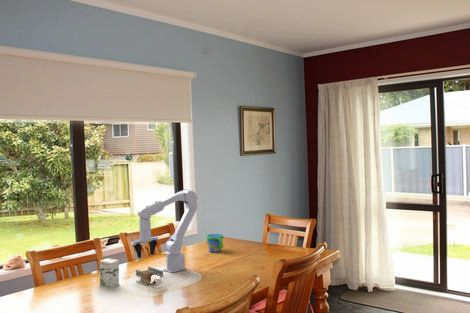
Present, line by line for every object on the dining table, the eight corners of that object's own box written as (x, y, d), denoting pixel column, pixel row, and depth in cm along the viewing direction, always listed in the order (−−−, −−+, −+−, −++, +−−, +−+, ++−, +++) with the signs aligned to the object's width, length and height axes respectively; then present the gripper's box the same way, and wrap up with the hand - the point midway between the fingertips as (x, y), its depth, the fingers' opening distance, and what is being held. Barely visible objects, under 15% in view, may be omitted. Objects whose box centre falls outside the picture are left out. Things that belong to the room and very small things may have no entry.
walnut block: (148, 279, 209) (148, 269, 209) (154, 282, 205) (154, 271, 205) (140, 281, 206) (140, 271, 205) (146, 284, 202) (146, 273, 202)
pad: (146, 279, 211) (146, 278, 211) (155, 282, 206) (155, 281, 206) (136, 281, 207) (136, 281, 207) (145, 285, 201) (145, 284, 201)
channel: (149, 271, 224) (149, 266, 224) (163, 275, 216) (162, 270, 216) (136, 274, 218) (135, 270, 218) (149, 279, 210) (149, 274, 210)
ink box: (99, 284, 204) (98, 260, 204) (107, 281, 208) (106, 257, 208) (112, 287, 200) (111, 262, 200) (119, 284, 204) (119, 259, 204)
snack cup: (228, 253, 260) (227, 236, 260) (212, 255, 255) (212, 238, 255) (217, 247, 274) (217, 232, 273) (202, 250, 269) (202, 234, 268)
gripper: (152, 227, 227) (152, 252, 227) (128, 231, 216) (129, 257, 217) (160, 229, 222) (160, 254, 222) (136, 233, 211) (137, 260, 212)
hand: (145, 256), depth 219 cm, fingers open, 7 cm apart
